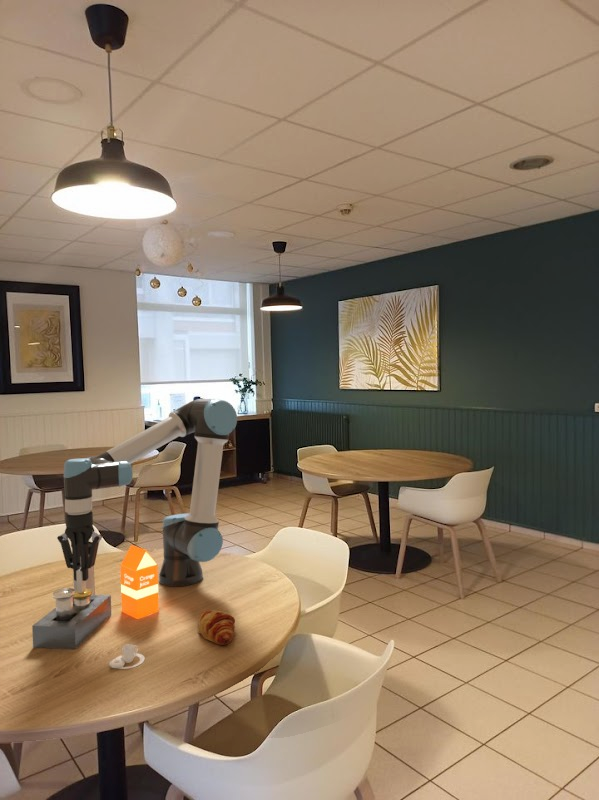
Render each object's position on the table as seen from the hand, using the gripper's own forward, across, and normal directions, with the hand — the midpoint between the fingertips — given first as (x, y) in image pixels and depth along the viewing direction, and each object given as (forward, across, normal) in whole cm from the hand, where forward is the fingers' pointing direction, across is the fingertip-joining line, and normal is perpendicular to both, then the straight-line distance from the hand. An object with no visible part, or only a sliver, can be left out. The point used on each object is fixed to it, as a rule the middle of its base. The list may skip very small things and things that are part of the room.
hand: (81, 591), depth 168 cm
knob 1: (+5, 0, +10) cm, 11 cm away
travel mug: (+10, +6, -13) cm, 17 cm away
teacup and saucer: (+10, -20, +21) cm, 31 cm away
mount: (+10, 0, +5) cm, 11 cm away
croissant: (+10, -42, +4) cm, 43 cm away
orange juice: (+10, -14, -9) cm, 19 cm away
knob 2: (+8, 0, 0) cm, 8 cm away
